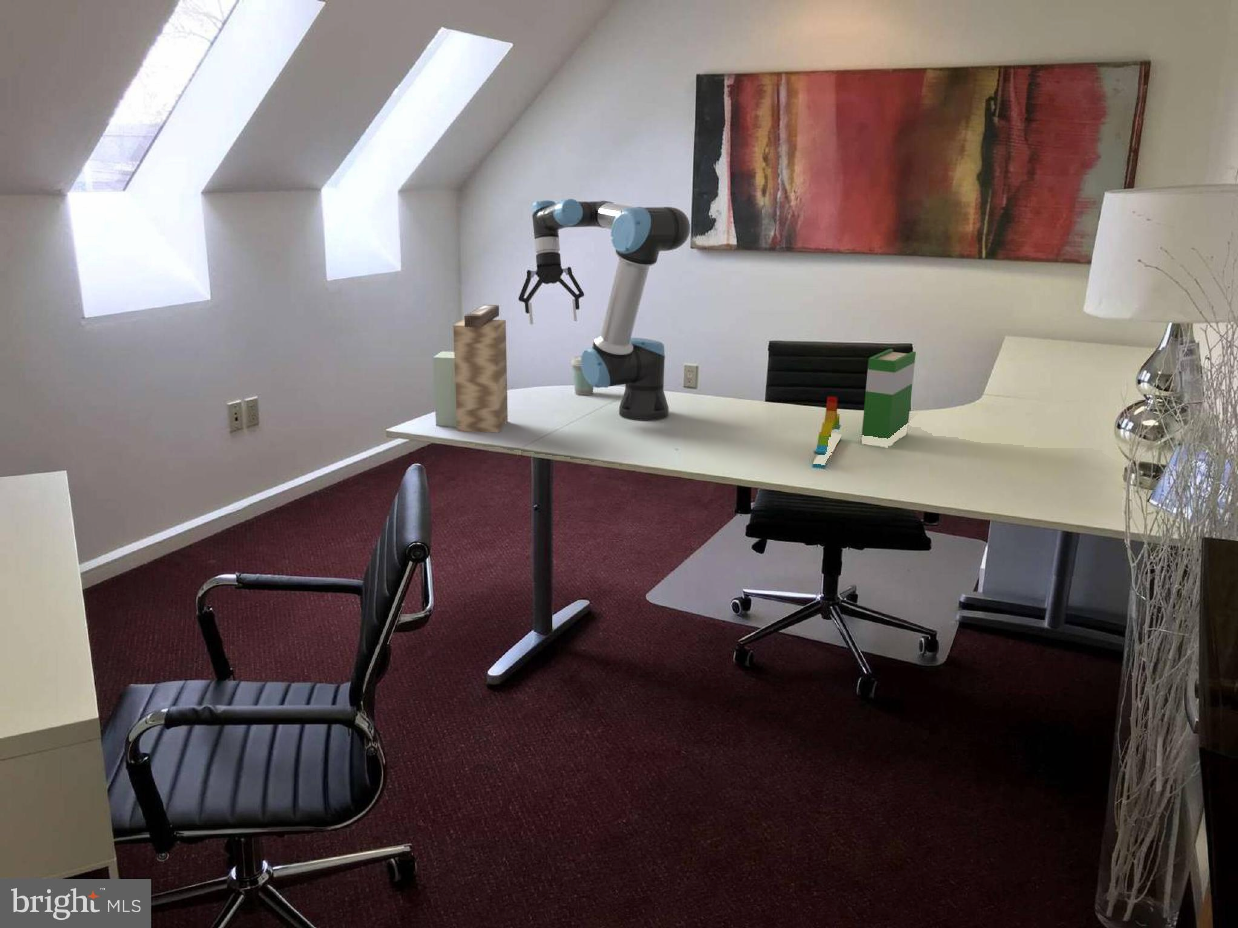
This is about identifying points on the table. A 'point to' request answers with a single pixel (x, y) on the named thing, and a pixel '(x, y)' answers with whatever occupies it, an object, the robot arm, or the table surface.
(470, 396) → the oak stand
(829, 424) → the chart
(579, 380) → the coffee cup
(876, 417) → the hardback book
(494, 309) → the domino case
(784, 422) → the table surface
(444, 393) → the green pedestal
